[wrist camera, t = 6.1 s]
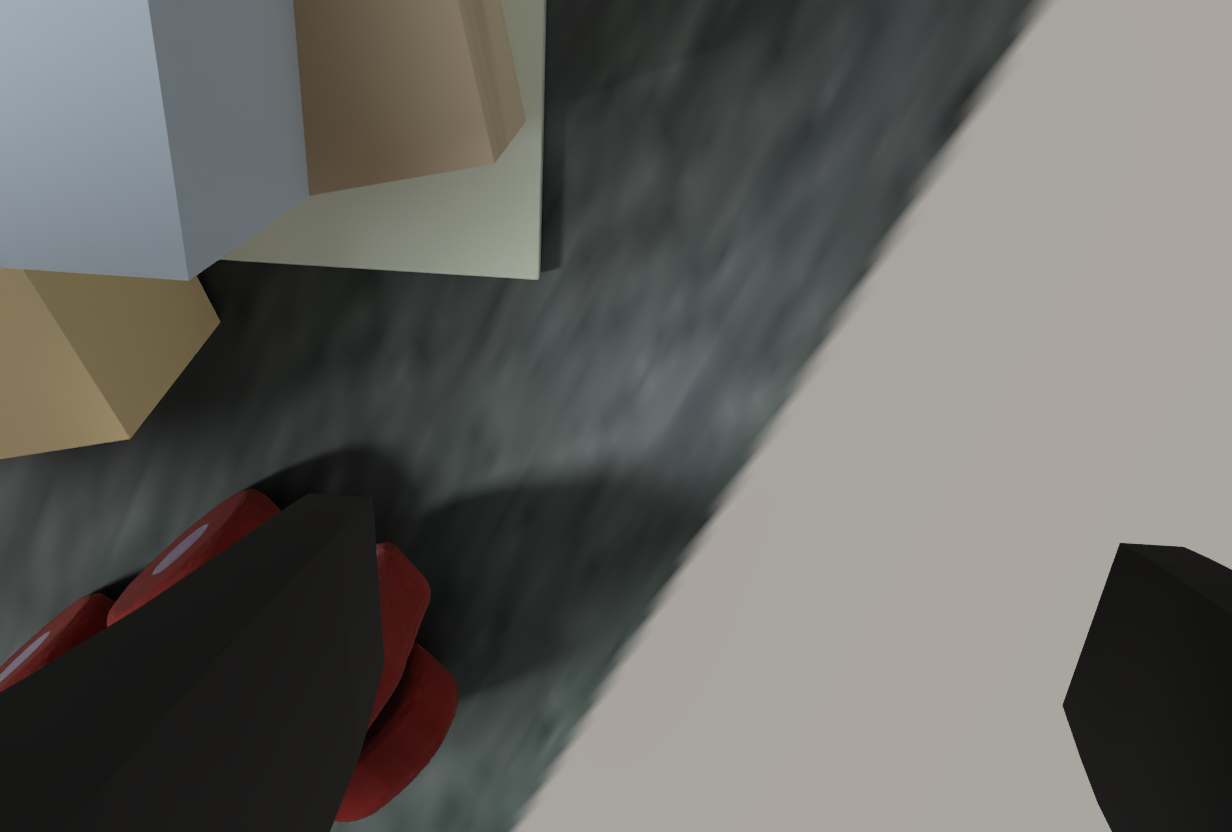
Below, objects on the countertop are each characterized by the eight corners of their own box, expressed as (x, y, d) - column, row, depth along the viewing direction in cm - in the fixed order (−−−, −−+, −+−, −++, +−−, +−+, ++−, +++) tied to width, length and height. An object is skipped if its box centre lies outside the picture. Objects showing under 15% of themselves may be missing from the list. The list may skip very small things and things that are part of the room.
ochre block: (47, 352, 20) (-74, 470, 16) (-70, 172, 17) (-238, 268, 14) (220, 322, 19) (130, 438, 16) (122, 133, 17) (-7, 222, 13)
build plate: (42, 241, 18) (30, 248, 18) (-64, -241, 15) (-82, -246, 15) (540, 274, 18) (538, 279, 18) (550, -202, 15) (548, -205, 15)
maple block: (266, 166, 17) (168, 220, 14) (165, -138, 15) (16, -170, 12) (526, 121, 17) (494, 163, 13) (459, -200, 15) (399, -254, 11)
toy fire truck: (533, 619, 22) (454, 1086, 13) (187, 820, 26) (-71, 1303, 17) (336, 409, 20) (69, 795, 11) (-17, 662, 24) (-452, 1121, 14)
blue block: (36, 177, 13) (-184, 254, 10) (-31, -140, 12) (-327, -187, 8) (309, 196, 14) (189, 280, 10) (283, -118, 12) (125, -154, 8)
